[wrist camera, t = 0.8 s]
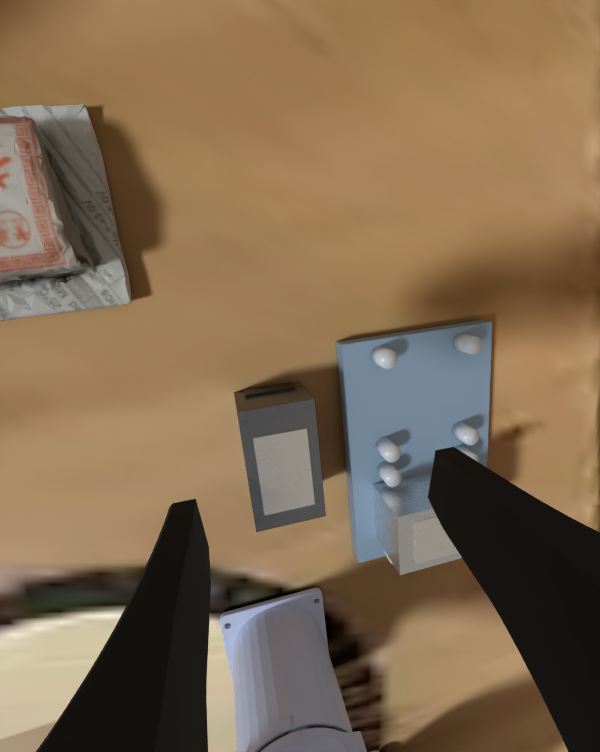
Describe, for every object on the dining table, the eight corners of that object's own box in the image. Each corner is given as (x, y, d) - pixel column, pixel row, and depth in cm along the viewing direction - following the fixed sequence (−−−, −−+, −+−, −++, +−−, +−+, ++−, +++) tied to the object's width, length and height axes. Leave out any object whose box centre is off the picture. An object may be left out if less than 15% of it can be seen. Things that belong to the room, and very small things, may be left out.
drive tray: (475, 521, 32) (497, 542, 30) (353, 552, 30) (365, 578, 28) (480, 319, 27) (508, 324, 25) (335, 341, 25) (349, 349, 23)
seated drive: (470, 511, 30) (508, 546, 26) (375, 535, 29) (400, 576, 25) (471, 461, 29) (511, 490, 25) (372, 484, 28) (398, 518, 24)
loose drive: (299, 378, 26) (314, 397, 22) (310, 483, 28) (326, 516, 24) (233, 389, 25) (237, 410, 21) (250, 496, 27) (256, 533, 23)
